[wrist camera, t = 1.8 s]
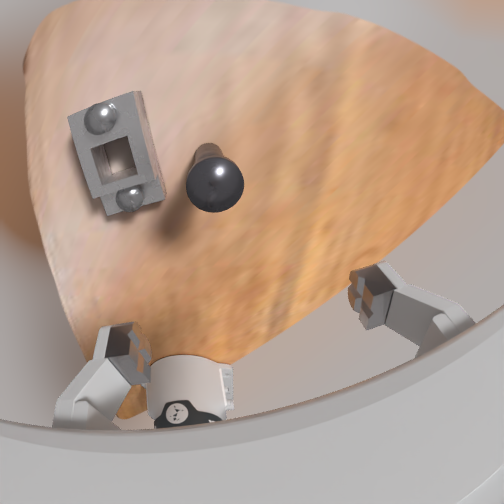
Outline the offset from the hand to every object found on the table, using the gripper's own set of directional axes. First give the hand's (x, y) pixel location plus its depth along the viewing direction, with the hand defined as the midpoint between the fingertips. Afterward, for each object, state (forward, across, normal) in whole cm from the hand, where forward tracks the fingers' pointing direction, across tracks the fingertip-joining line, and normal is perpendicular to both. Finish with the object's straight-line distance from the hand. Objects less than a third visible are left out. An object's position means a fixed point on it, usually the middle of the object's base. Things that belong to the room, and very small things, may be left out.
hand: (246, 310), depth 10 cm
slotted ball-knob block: (+23, -9, +3) cm, 25 cm away
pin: (+23, 0, 0) cm, 23 cm away
